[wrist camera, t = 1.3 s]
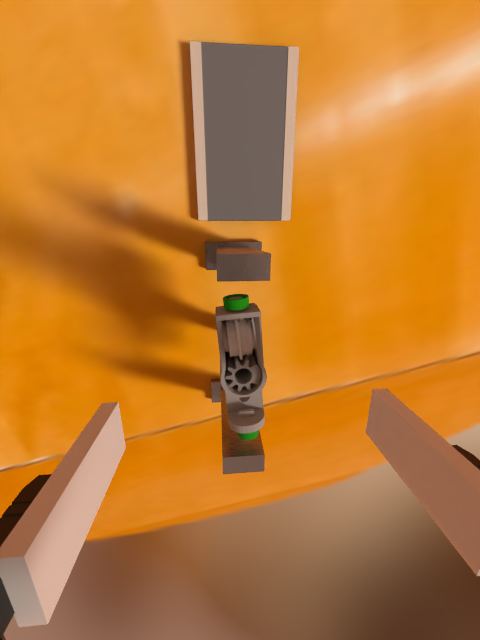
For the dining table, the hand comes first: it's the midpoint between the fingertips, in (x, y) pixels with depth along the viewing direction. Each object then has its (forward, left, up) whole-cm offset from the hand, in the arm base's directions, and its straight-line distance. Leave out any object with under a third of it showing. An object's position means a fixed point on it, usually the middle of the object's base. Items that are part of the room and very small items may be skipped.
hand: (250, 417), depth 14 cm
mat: (-16, +1, -13) cm, 21 cm away
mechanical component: (0, 0, -14) cm, 14 cm away
